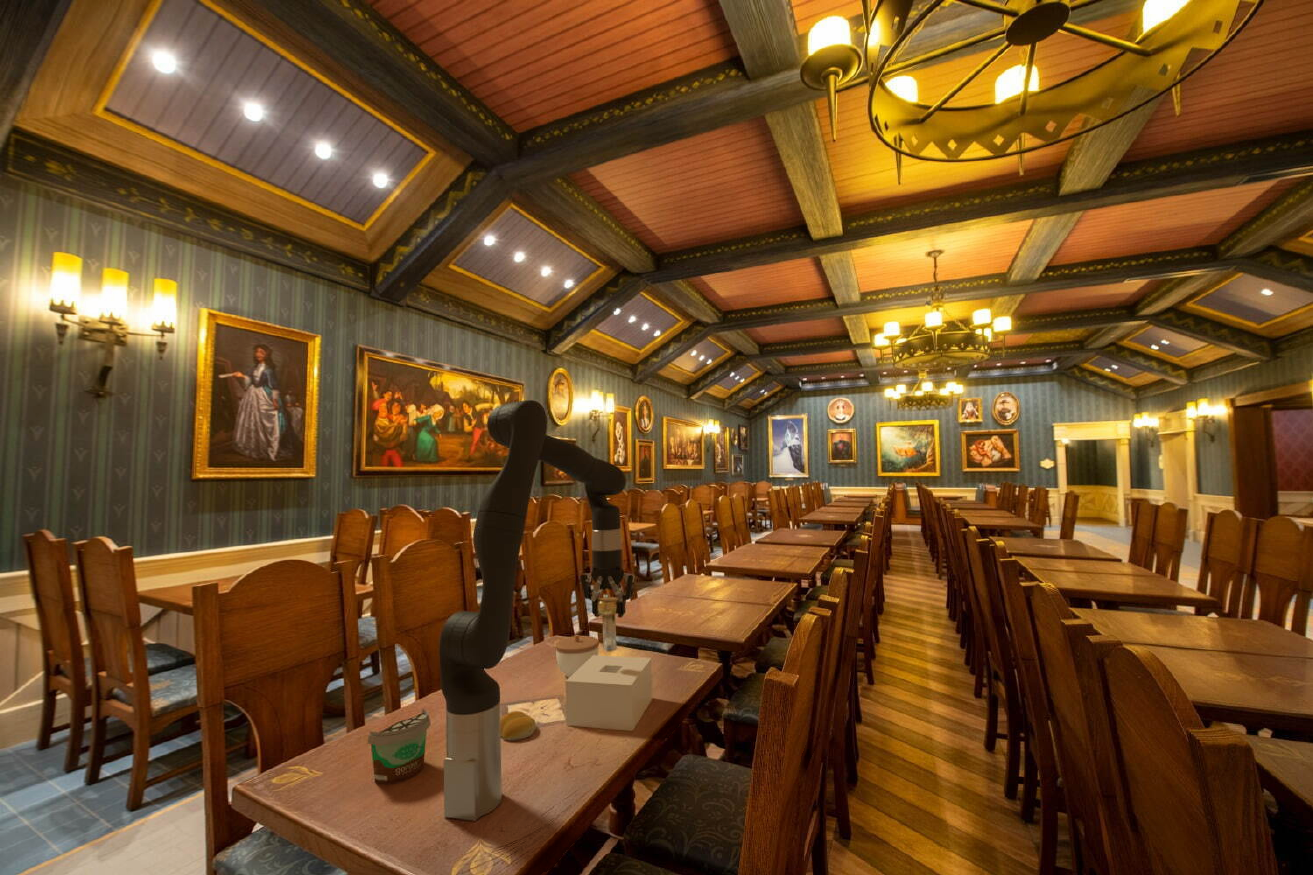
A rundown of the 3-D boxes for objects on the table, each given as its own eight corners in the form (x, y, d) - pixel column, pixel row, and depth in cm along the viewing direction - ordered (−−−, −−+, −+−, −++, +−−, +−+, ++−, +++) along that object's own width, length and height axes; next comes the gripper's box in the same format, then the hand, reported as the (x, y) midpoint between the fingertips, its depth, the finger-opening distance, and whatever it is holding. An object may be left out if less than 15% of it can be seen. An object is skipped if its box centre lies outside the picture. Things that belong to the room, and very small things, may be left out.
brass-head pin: (617, 653, 129) (615, 602, 130) (595, 652, 131) (593, 602, 131) (624, 646, 135) (622, 597, 136) (603, 645, 136) (601, 596, 137)
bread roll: (509, 746, 117) (509, 727, 117) (491, 732, 123) (491, 714, 124) (543, 733, 122) (543, 714, 122) (524, 720, 129) (524, 703, 129)
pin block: (632, 730, 121) (631, 685, 122) (566, 725, 125) (565, 680, 126) (652, 697, 138) (651, 658, 139) (594, 693, 142) (593, 655, 143)
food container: (386, 795, 99) (385, 739, 100) (367, 786, 103) (367, 732, 103) (443, 763, 110) (443, 713, 111) (425, 756, 113) (424, 707, 114)
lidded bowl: (596, 681, 151) (595, 641, 152) (551, 682, 151) (551, 642, 152) (601, 665, 164) (600, 628, 164) (560, 666, 164) (559, 629, 164)
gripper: (574, 549, 132) (575, 619, 131) (630, 549, 129) (632, 621, 128) (585, 545, 140) (587, 611, 139) (638, 545, 136) (641, 613, 135)
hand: (609, 616), depth 133 cm, fingers closed on brass-head pin, 5 cm apart
